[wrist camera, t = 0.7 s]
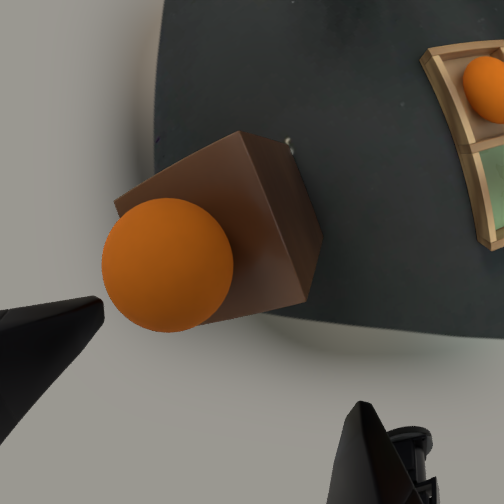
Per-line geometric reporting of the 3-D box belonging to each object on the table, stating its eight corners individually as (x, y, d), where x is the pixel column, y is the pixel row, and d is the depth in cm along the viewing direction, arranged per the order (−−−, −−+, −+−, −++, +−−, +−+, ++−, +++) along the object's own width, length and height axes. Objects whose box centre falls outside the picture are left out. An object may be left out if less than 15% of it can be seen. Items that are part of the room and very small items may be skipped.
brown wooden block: (323, 237, 20) (306, 302, 11) (238, 264, 23) (171, 330, 14) (288, 144, 19) (238, 129, 10) (203, 181, 22) (112, 201, 12)
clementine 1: (268, 282, 11) (223, 352, 7) (178, 306, 13) (117, 362, 9) (223, 171, 10) (147, 183, 6) (137, 214, 12) (58, 243, 8)
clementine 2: (511, 121, 12) (544, 116, 8) (468, 132, 14) (499, 126, 10) (487, 63, 11) (515, 46, 7) (443, 70, 13) (466, 50, 9)
